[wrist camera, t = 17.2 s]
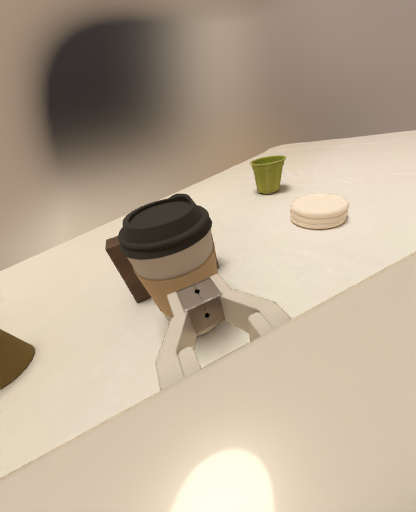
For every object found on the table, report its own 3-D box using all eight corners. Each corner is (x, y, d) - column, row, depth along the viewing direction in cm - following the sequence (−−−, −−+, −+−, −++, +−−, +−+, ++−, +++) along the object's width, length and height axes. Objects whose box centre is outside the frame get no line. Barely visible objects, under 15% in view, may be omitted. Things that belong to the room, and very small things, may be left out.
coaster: (281, 224, 40) (281, 208, 38) (302, 206, 45) (303, 191, 43) (335, 234, 34) (339, 216, 32) (352, 211, 39) (357, 194, 37)
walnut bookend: (218, 268, 33) (207, 212, 27) (137, 303, 30) (105, 249, 24) (199, 245, 40) (187, 198, 34) (132, 272, 37) (107, 224, 31)
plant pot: (250, 188, 63) (248, 159, 58) (281, 183, 61) (281, 153, 56) (253, 198, 55) (251, 166, 50) (288, 193, 53) (289, 159, 48)
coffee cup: (198, 361, 20) (145, 242, 12) (149, 323, 26) (88, 222, 18) (242, 303, 26) (227, 190, 17) (193, 281, 31) (163, 188, 23)
